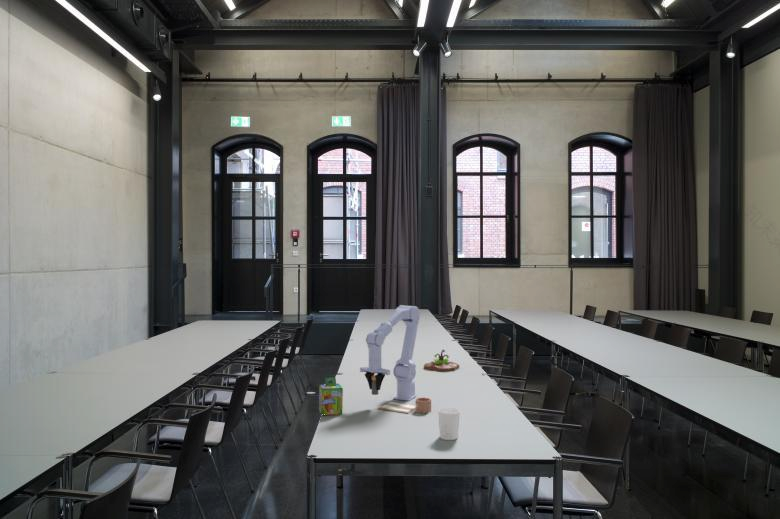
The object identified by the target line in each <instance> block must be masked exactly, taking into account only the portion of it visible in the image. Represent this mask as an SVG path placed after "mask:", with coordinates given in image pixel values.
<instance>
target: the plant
mask: <svg viewBox="0 0 780 519" xmlns="http://www.w3.org/2000/svg"><path fill="white" fill-rule="evenodd" d="M445 352H446V350H445V349H442V350H441V352H440V353H436V354H435V355H433V356H434V358H433V360H434V361H430V362H428V363H427V362H426V363H424V365H423V369H424V370H427V371H435V372H441V373H442V372H443V373H448V372H454V371H457V370H458V369H459V370H460V364H458V363H456V362H453V361H449V360H450V359H449V358H450V355H448V354H443V353H445ZM437 356H438V357H437ZM445 357H446V358H445Z"/></svg>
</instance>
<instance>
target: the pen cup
mask: <svg viewBox="0 0 780 519" xmlns="http://www.w3.org/2000/svg"><path fill="white" fill-rule="evenodd" d="M415 405H416V409H415V411H416V412H417V413H419V412H420V413H419V414H426V413H427V412H429V413H431V412H432V399H430V398H429V397H418V398H415ZM427 414H428V413H427Z"/></svg>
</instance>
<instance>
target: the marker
mask: <svg viewBox="0 0 780 519" xmlns="http://www.w3.org/2000/svg"><path fill="white" fill-rule="evenodd" d="M375 375H376V374H374V375H373V376H372V389H371V395H374V396H377V395H379V390H377V383H376V377H375Z"/></svg>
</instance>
